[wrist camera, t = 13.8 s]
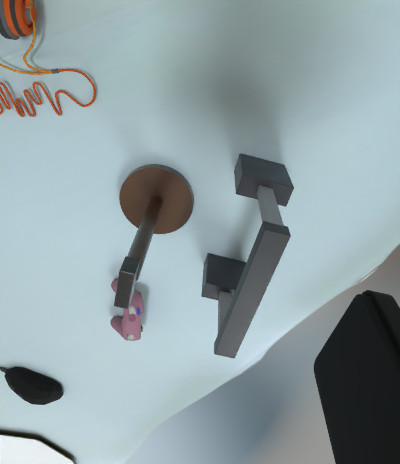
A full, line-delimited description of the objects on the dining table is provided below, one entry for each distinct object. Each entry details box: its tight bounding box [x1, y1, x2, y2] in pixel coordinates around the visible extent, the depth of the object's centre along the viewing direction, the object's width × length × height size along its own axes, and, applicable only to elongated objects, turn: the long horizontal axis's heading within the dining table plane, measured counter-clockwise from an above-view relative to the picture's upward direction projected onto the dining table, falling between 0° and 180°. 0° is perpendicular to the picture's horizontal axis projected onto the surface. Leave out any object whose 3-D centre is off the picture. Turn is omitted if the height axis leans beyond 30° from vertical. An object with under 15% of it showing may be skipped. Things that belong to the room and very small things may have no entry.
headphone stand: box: [114, 164, 194, 309], centre depth 40 cm, size 10×10×19 cm
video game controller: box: [111, 280, 143, 341], centre depth 56 cm, size 10×5×7 cm, turn 171°
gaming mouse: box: [0, 367, 63, 405], centre depth 69 cm, size 6×15×4 cm, turn 56°
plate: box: [0, 434, 74, 464], centre depth 88 cm, size 28×28×2 cm
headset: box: [202, 154, 294, 358], centre depth 42 cm, size 6×18×17 cm, turn 166°
